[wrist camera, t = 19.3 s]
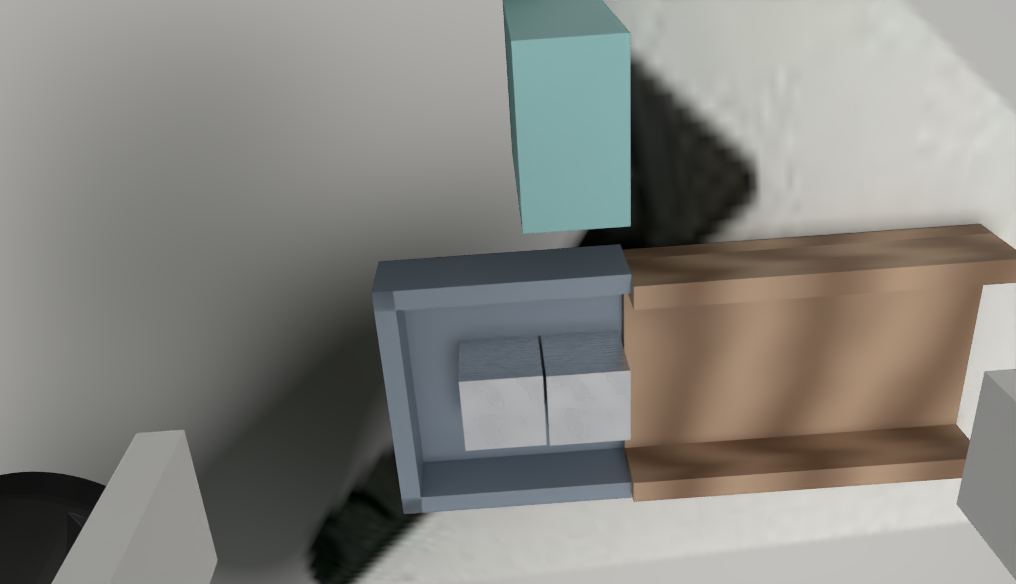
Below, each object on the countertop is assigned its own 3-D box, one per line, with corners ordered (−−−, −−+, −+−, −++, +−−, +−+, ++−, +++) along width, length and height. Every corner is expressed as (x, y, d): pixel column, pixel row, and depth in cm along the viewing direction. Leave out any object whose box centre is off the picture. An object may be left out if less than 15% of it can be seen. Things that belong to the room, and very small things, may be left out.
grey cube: (466, 405, 47) (465, 450, 44) (459, 340, 46) (458, 382, 42) (541, 400, 47) (546, 445, 44) (537, 334, 46) (542, 375, 42)
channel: (621, 452, 50) (633, 501, 46) (620, 249, 44) (633, 286, 40) (942, 429, 50) (980, 476, 46) (980, 224, 44) (1027, 258, 40)
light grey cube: (543, 400, 47) (549, 445, 44) (540, 335, 46) (546, 376, 42) (618, 395, 47) (630, 439, 44) (618, 329, 46) (630, 370, 42)
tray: (408, 472, 50) (403, 513, 47) (378, 261, 44) (371, 292, 41) (621, 456, 50) (631, 497, 47) (620, 244, 44) (631, 274, 41)
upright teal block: (512, 152, 42) (522, 233, 33) (502, -3, 39) (511, 40, 30) (597, 146, 42) (630, 226, 33) (594, -9, 39) (630, 32, 30)
